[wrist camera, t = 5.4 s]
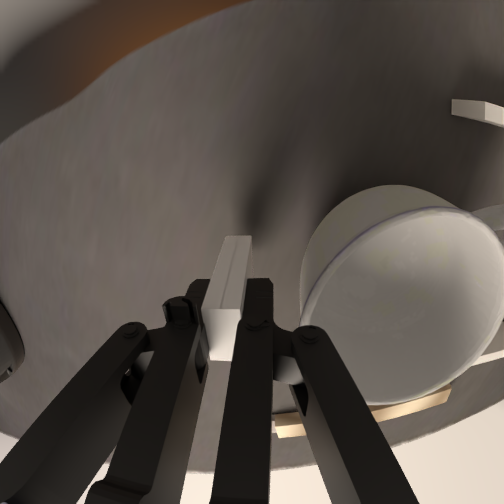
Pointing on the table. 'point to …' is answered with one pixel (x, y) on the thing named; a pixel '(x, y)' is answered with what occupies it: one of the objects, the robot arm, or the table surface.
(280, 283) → the table surface
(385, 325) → the teacup
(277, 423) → the birch bar
